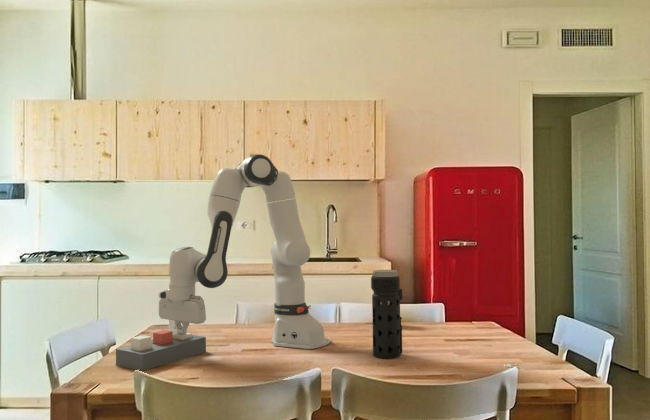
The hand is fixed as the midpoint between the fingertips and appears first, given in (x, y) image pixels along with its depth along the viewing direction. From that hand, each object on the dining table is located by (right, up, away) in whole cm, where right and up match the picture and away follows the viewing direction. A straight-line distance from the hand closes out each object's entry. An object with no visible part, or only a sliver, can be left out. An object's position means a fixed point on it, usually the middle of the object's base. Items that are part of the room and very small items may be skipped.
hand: (181, 334), depth 171 cm
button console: (-4, -6, -7) cm, 10 cm away
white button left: (-9, -3, -14) cm, 17 cm away
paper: (+103, -5, -17) cm, 105 cm away
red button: (-4, -3, -7) cm, 9 cm away
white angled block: (-9, -7, +26) cm, 28 cm away
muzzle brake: (+70, -5, -7) cm, 71 cm away
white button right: (0, -5, 0) cm, 5 cm away
